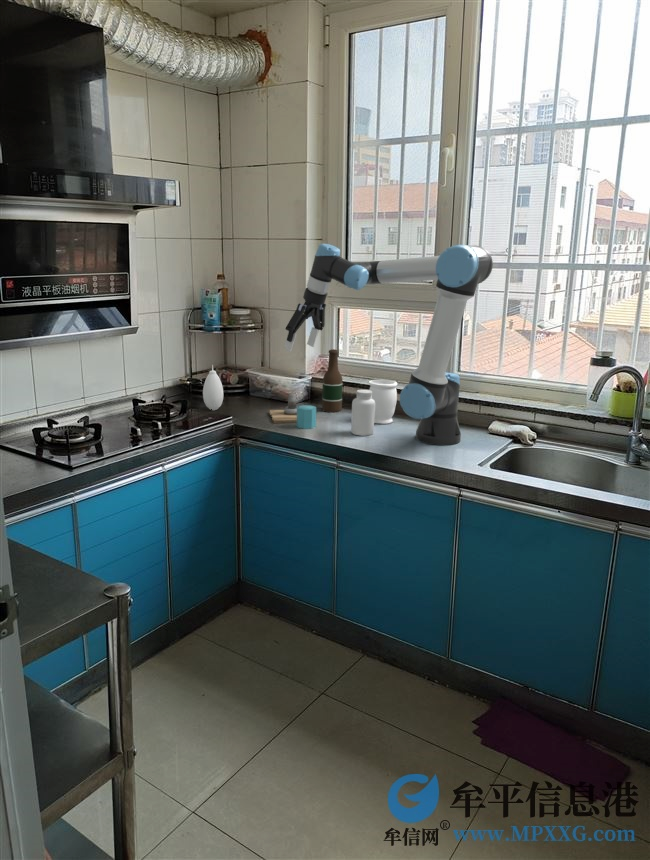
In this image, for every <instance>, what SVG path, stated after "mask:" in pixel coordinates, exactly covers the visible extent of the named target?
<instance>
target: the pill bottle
mask: <svg viewBox="0 0 650 860" xmlns="http://www.w3.org/2000/svg"><path fill="white" fill-rule="evenodd" d="M371 397H372V391H370V390H369V389H358V390H356V397H354V398H353V399H352V402H351V423H350V433H351V434H353V435H355V436H363V437H364V436H365V437H367V436H368V437H369V436H371V435H373V434H374V431H375V429H374V428H375V423H374V417H375V401H374V400H373V399H372V398H371Z"/></svg>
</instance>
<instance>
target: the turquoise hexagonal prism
mask: <svg viewBox="0 0 650 860" xmlns="http://www.w3.org/2000/svg"><path fill="white" fill-rule="evenodd" d="M296 407H297V423H296V428H298V429H302V428H303V429H302V430H312V429H315V428H317V407H316V406H315V405H310V404H303V405H299V406H297V405H296ZM314 427H315V428H314ZM311 428H312V429H311Z"/></svg>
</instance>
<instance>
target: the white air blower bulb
mask: <svg viewBox="0 0 650 860" xmlns="http://www.w3.org/2000/svg"><path fill="white" fill-rule="evenodd" d="M202 399H203V402H204V405H205V406H206V408H208V409H209V410H211V409H212V410H211V411H216V410H218V409H219V408H220V407H221V406H222V404H223V400H224V387H223V384H222V380H221V378H220V377H219V375H218V374H217V371H216V370H214V365H213V364H212V366H211V370H209V372H208V374H207V376H206V378H205V381H204V384H203V388H202Z"/></svg>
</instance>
